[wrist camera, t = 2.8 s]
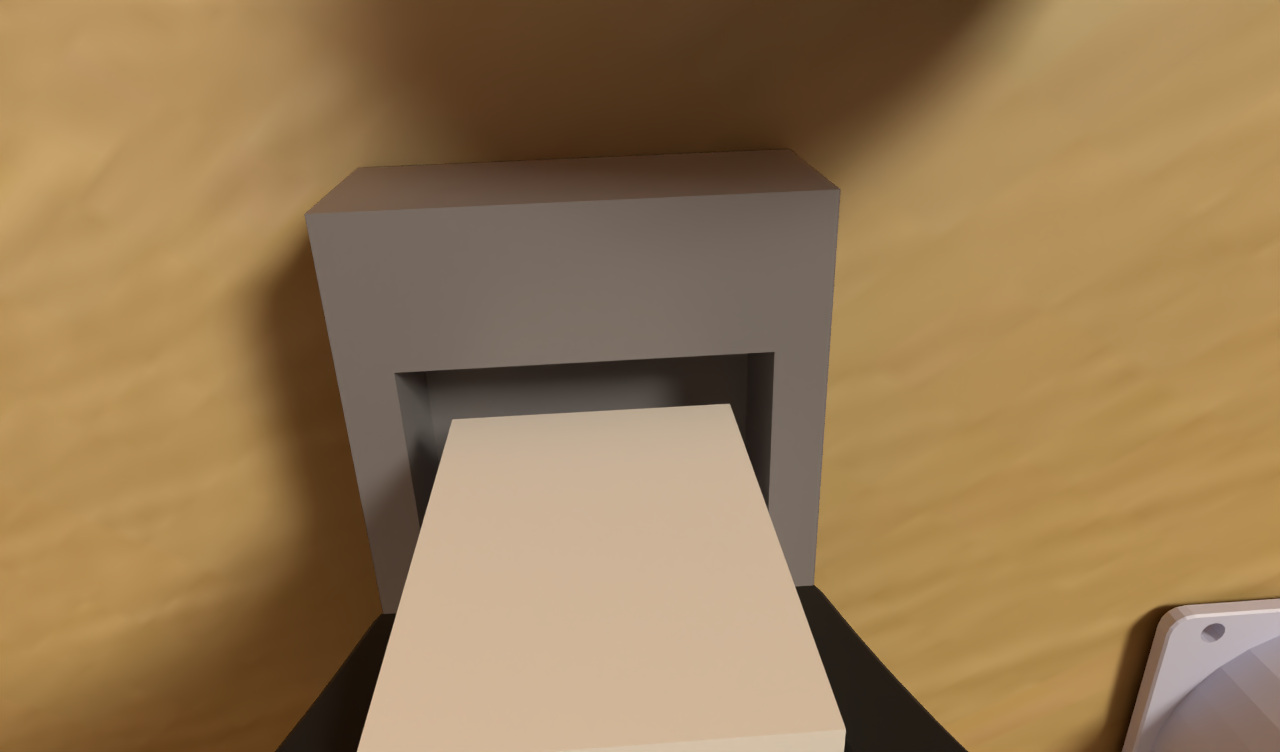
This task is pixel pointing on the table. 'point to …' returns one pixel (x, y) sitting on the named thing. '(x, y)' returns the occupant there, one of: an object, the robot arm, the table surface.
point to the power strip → (578, 313)
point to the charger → (600, 597)
